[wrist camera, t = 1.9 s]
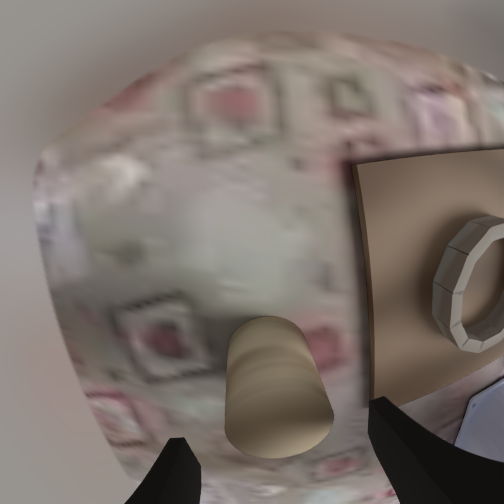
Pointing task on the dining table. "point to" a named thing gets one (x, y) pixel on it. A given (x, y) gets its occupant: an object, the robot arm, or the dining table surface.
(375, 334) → the socket board
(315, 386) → the maple peg
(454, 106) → the dining table surface
